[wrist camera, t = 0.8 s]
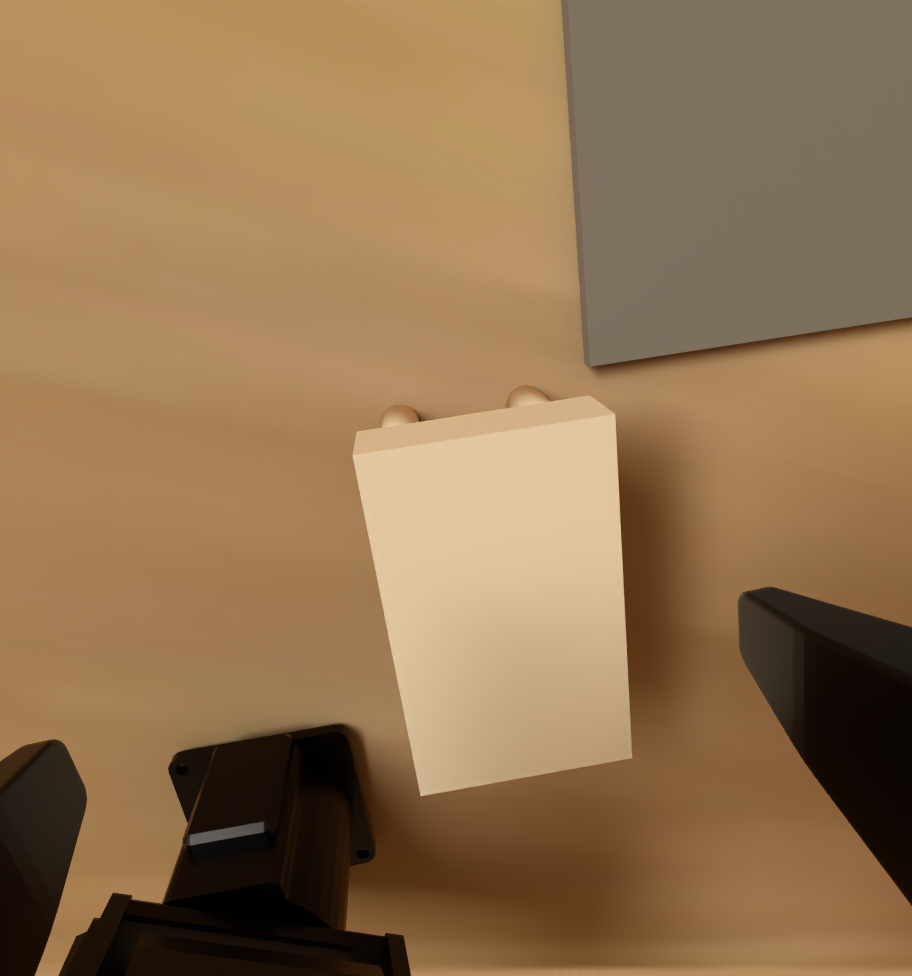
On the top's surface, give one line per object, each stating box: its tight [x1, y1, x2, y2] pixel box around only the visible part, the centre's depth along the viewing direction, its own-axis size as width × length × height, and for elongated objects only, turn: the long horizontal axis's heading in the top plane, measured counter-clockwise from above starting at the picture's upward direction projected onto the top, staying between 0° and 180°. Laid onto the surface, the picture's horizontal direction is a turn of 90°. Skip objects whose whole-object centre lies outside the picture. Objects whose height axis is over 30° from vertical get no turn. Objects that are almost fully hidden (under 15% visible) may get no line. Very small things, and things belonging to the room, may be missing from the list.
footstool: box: [353, 385, 632, 796], centre depth 19 cm, size 10×6×6 cm, turn 8°
